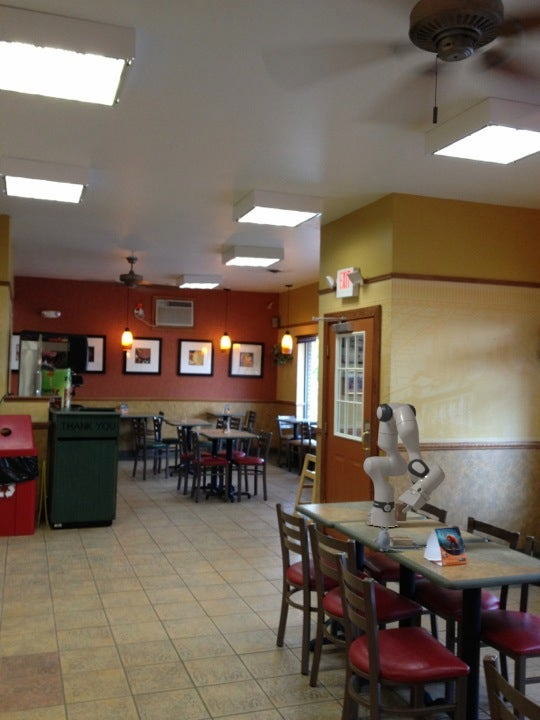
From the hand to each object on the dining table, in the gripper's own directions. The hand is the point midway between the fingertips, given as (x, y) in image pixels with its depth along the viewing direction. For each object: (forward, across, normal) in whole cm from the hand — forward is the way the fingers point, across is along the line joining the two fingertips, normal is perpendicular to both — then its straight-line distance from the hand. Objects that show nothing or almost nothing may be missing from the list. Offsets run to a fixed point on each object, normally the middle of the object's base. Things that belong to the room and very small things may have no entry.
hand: (400, 511), depth 330 cm
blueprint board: (+11, -1, +13) cm, 17 cm away
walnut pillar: (+3, 0, +3) cm, 4 cm away
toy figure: (+20, +11, +4) cm, 23 cm away
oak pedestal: (+12, 0, +12) cm, 17 cm away
